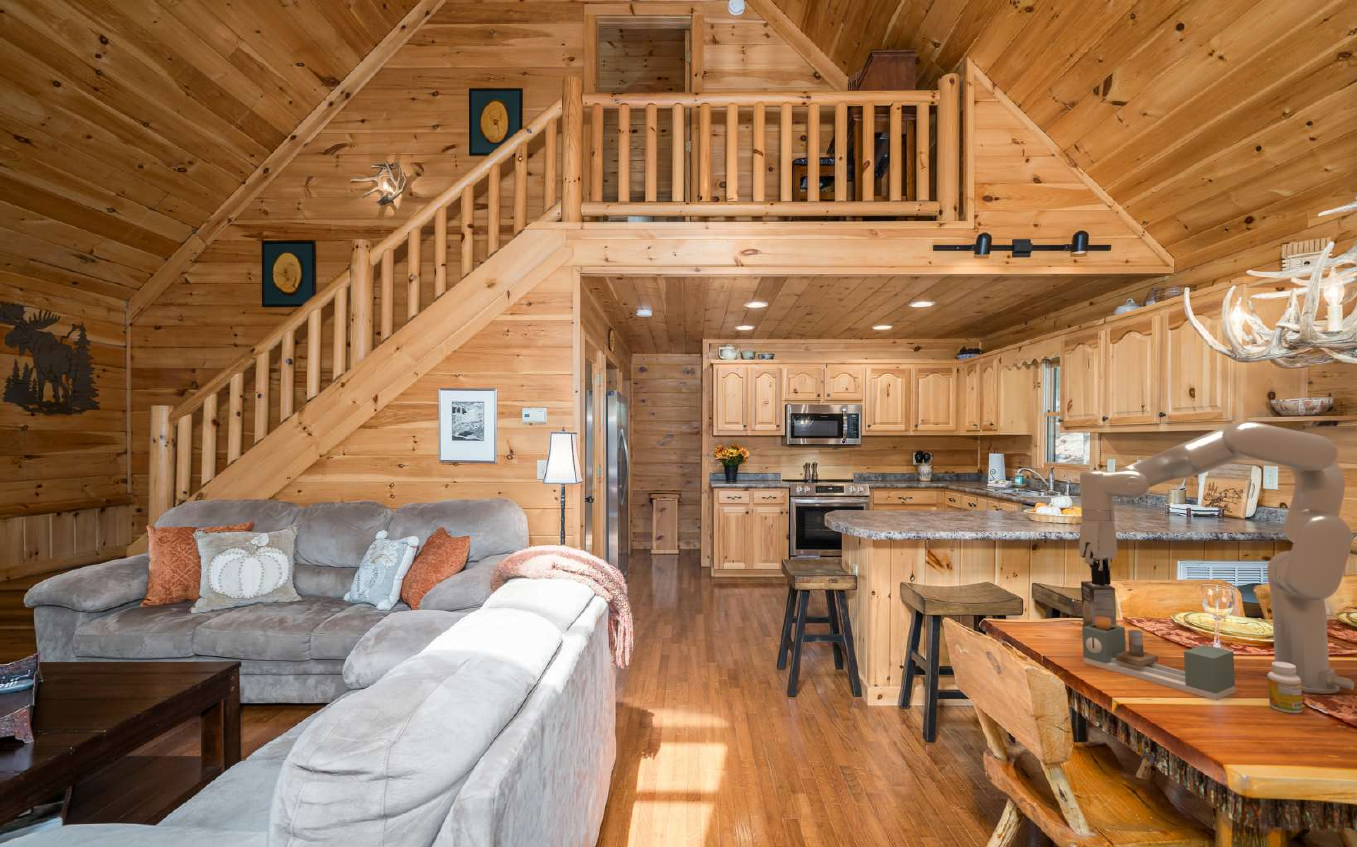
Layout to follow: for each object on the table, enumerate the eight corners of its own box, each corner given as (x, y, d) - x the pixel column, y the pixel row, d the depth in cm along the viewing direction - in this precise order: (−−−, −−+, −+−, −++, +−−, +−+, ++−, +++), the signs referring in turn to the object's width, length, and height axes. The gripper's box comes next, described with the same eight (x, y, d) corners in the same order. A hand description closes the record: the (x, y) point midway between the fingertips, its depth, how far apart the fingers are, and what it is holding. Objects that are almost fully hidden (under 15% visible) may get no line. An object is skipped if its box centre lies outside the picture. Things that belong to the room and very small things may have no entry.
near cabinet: (1235, 685, 155) (1233, 651, 155) (1215, 693, 151) (1213, 658, 151) (1201, 676, 161) (1199, 643, 161) (1181, 684, 157) (1180, 650, 157)
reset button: (1114, 630, 176) (1113, 618, 176) (1106, 632, 174) (1105, 620, 174) (1100, 627, 179) (1099, 615, 179) (1092, 629, 177) (1092, 617, 178)
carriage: (1158, 661, 169) (1156, 631, 169) (1140, 667, 165) (1139, 637, 165) (1133, 654, 174) (1131, 626, 174) (1115, 660, 170) (1114, 631, 170)
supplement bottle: (1268, 701, 149) (1266, 658, 149) (1301, 707, 145) (1299, 663, 145) (1270, 710, 144) (1267, 665, 145) (1304, 715, 141) (1301, 670, 141)
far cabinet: (1126, 657, 176) (1124, 627, 176) (1105, 663, 172) (1104, 633, 172) (1103, 651, 181) (1101, 622, 181) (1082, 657, 177) (1080, 627, 177)
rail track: (1235, 691, 155) (1234, 681, 155) (1216, 700, 150) (1215, 689, 151) (1103, 656, 181) (1102, 647, 181) (1083, 662, 177) (1083, 653, 177)
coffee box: (1082, 632, 203) (1079, 580, 203) (1105, 633, 201) (1102, 580, 202) (1094, 642, 194) (1092, 587, 194) (1118, 642, 192) (1116, 587, 193)
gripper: (1100, 512, 184) (1103, 578, 184) (1066, 517, 177) (1069, 585, 177) (1129, 514, 178) (1132, 582, 177) (1094, 519, 170) (1098, 591, 170)
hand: (1101, 583), depth 177 cm, fingers closed
